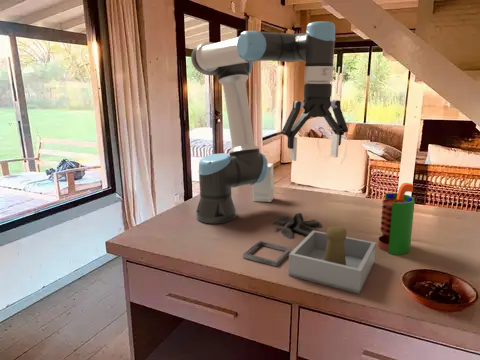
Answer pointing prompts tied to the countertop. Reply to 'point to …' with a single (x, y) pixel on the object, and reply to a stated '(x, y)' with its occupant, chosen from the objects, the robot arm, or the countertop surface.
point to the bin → (328, 273)
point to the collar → (264, 260)
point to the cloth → (295, 225)
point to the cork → (335, 245)
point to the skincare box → (265, 187)
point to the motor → (397, 221)
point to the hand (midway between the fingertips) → (313, 158)
